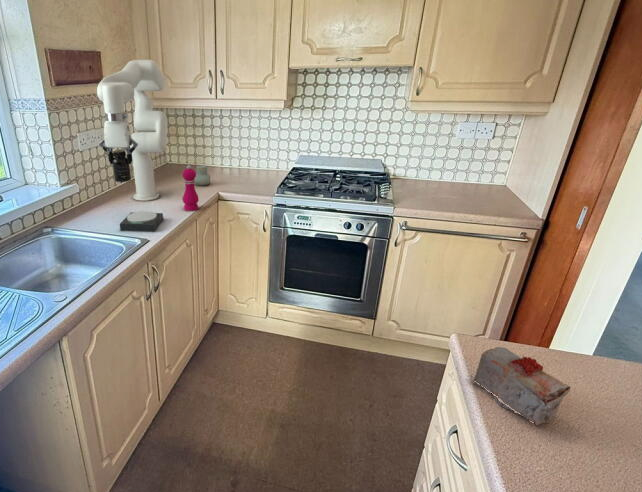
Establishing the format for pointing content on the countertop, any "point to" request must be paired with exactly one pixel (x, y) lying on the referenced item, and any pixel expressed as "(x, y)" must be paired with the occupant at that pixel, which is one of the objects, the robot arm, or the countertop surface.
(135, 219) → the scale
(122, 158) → the supplement bottle
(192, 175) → the pepper mill
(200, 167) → the air freshener
